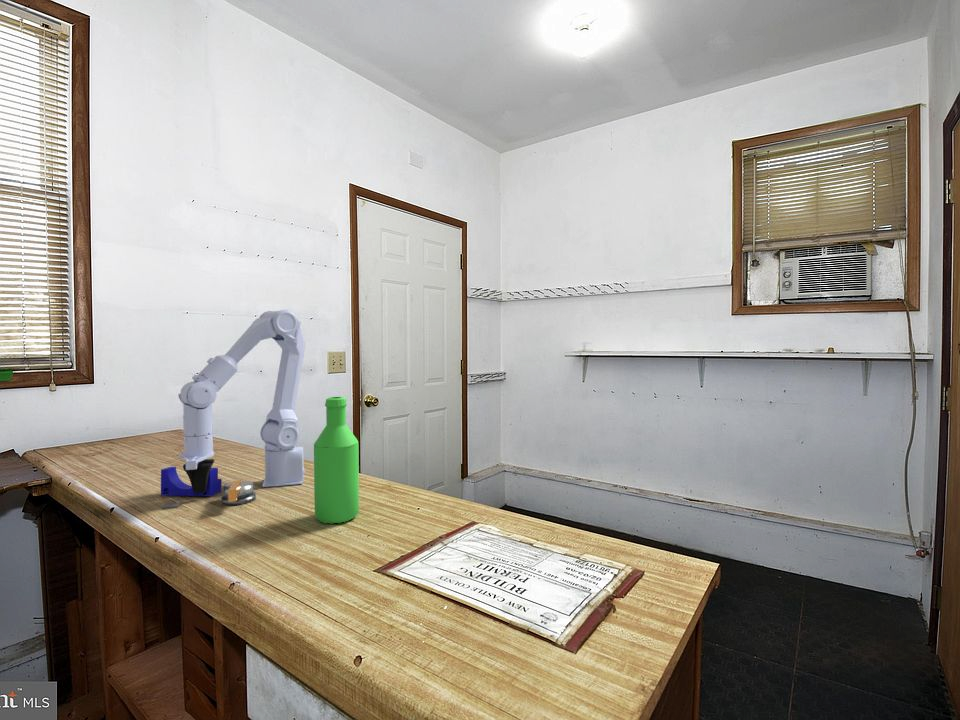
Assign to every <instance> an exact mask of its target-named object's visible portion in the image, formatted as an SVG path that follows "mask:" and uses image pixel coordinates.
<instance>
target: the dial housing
mask: <svg viewBox="0 0 960 720" xmlns="http://www.w3.org/2000/svg"><path fill="white" fill-rule="evenodd" d="M256 495H257V493H256V492H254V491H253V494H252V495H251V496H248V497H245V498H239V499H237V501H232V502H228V499H227V498H224V495H223V496H222V497H221V504H222V505H224V506H229V507H231V506H241V505H247V504H250V503H252V502H254V501H255V500H256V499H257V497H256Z"/></svg>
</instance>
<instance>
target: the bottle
mask: <svg viewBox="0 0 960 720" xmlns="http://www.w3.org/2000/svg"><path fill="white" fill-rule="evenodd" d="M347 405H348V402H347V398H346V397H344V396H330V397H327V398H326V399H325V403H324V406H325V407H326V409H325V412H326V413H325V414H326V421H325V422H326V425H325V427H324V428H323V429H322V431H321V432H320V434H319V436H318V437H317V439H316V440H315V442H314V443H313V481H314V483H313V485H314V487H313V490H314V494H313V495H314V497H313V498H314V517H315V519H317V520H318V521H319V522H321V523H323V522H324V523H323V524H327V523H338V524H343V523H342V522H344V523H347V522H349V520H350V521H352V520H353V519H354V518H355V517H356V516H357V515H359V511H360V478H359V477H360V476H359V475H360V474H359V473H360V470H359V469H360V465H359V461H360V459H359V455H360V454H359V453H360V451H359V441H358V438H357V437H356V436H355V434H354V433H353V432H352V431H351V429H350V428H349V426H348V425H347V415H346V414H347V407H346V406H347ZM351 519H352V520H351ZM346 521H347V522H346Z"/></svg>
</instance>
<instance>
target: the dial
mask: <svg viewBox="0 0 960 720" xmlns="http://www.w3.org/2000/svg"><path fill="white" fill-rule="evenodd" d="M253 492H254V482H251V481H248V480H245V481H244V480H243V481H242V480H241V479H240V480H233V482H231V483H227V484H225V485H224V486H223V496H224V498H227V499H228V502H232V501H237V499H239V498H245V497H248V496H251V495H252V494H253Z"/></svg>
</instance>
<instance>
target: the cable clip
mask: <svg viewBox="0 0 960 720" xmlns="http://www.w3.org/2000/svg"><path fill="white" fill-rule="evenodd" d="M222 483H223V482H222V478H219V467H211V470H210V473H209V476H208V482H207V487H206V491H205V493H202V494H194V492H193V489H192V485H191V484H187V483H185V482H184V481H183V480H182V479H181V478H180V477H179V474H178V472H177V466H168V467H165V468H162V469H160V496H180V497H181V496H191V497H212V496H214V495H216V494H219V493H220V492H222Z"/></svg>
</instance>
